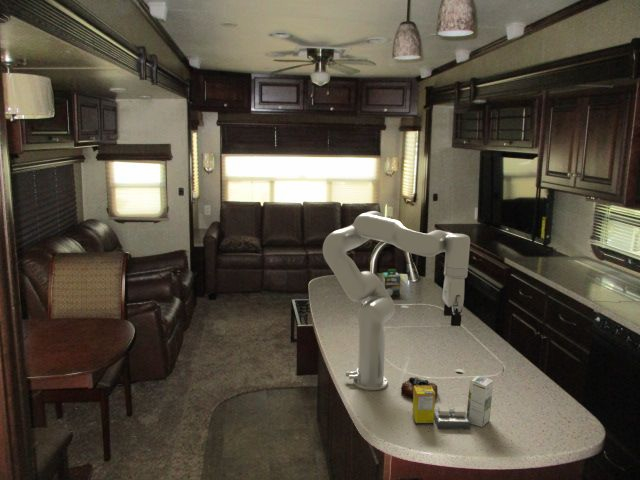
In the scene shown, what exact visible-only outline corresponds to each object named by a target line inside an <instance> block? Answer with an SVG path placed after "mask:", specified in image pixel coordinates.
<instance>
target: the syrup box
mask: <svg viewBox="0 0 640 480" xmlns="http://www.w3.org/2000/svg"><path fill="white" fill-rule="evenodd" d="M493 387H494V380H492V379H490V378H488V377H485V376H481V375H477V376H475V377H473V379H472V380H470V381H469V386H468V395H467V396H468V399H467V406H466V407H467V409H466V415H467V417H468V419H469V421H470V425H471V424H472V425H475V426H477V427H480V428H483V427H485V425H487V423H489V421H490V418H491V410H492V398H493V392H494V391H493V389H494V388H493Z"/></svg>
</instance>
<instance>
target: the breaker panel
mask: <svg viewBox="0 0 640 480" xmlns="http://www.w3.org/2000/svg"><path fill="white" fill-rule="evenodd" d="M438 409H439V408H437V409H436V408H434V423H435V424H436V428H437V429H438V430H470V429H471V423H470V421H469V419H468V417H467V412H465V414H464V416H455V414H454V413H449V415H439V413H438ZM449 411H454V409H449Z"/></svg>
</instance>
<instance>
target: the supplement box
mask: <svg viewBox="0 0 640 480" xmlns="http://www.w3.org/2000/svg"><path fill="white" fill-rule="evenodd" d="M435 405H436V397H435V392H434V390H433V388H432V386H414V391H413V399H412V411H411V412H412V418H413V421H414V424H415V425H416V426H418V425H419V426H420V425H421V426H424V425H425V426H426V425H430V426H431V425H432V426H433V425H434V423H435V419H434V409H436V408H435Z"/></svg>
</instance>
